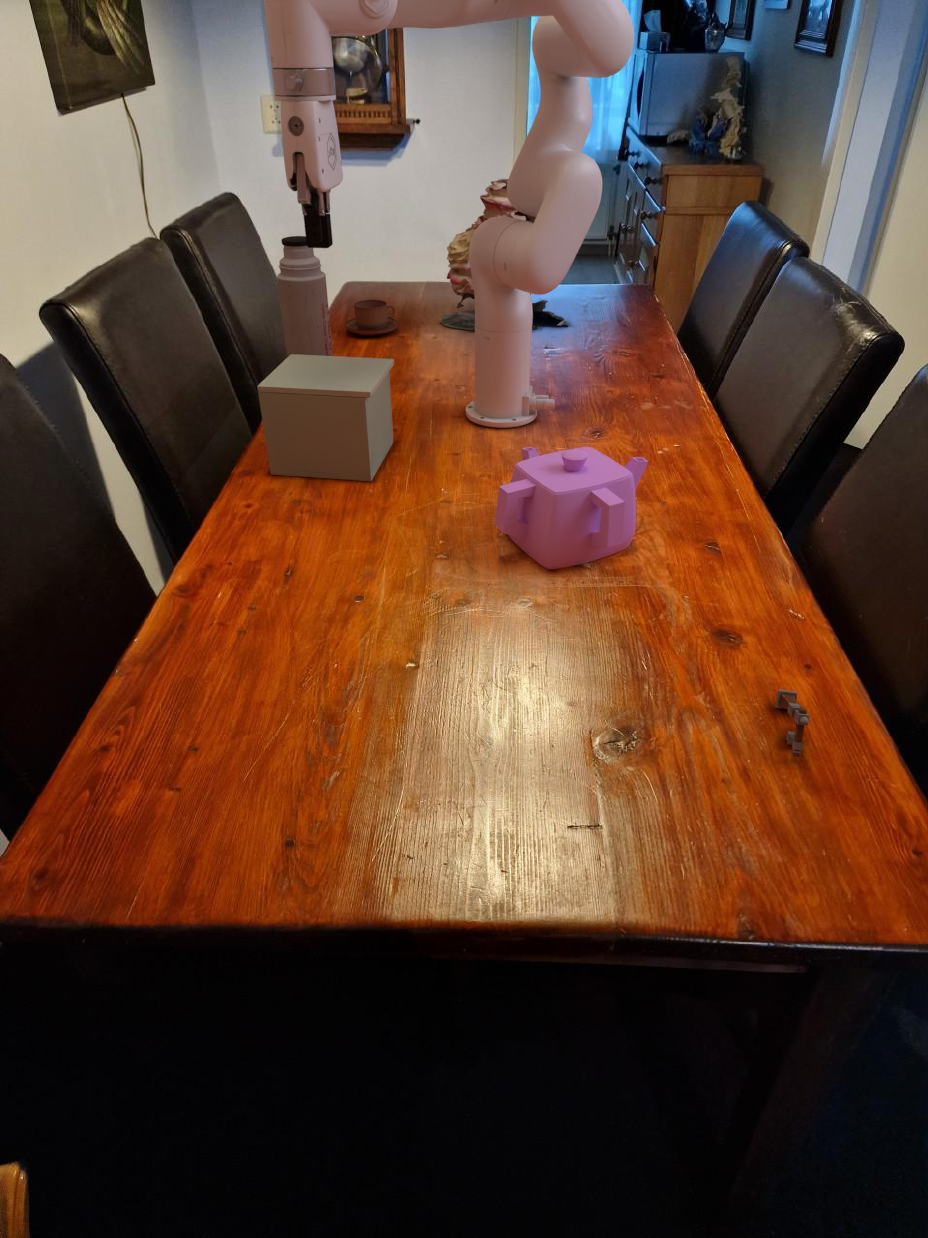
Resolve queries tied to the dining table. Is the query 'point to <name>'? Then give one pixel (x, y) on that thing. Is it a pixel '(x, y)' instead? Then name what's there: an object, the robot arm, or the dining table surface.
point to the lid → (327, 375)
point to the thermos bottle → (303, 300)
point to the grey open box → (327, 433)
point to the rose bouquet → (460, 262)
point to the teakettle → (570, 505)
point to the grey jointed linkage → (800, 716)
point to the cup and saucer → (372, 318)
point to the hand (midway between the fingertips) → (319, 246)
